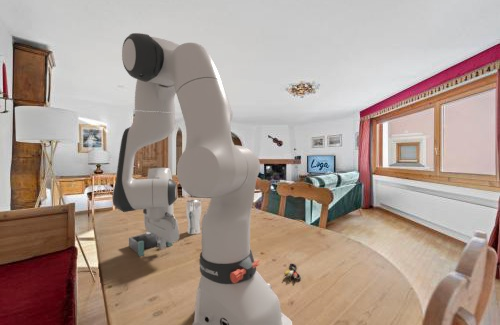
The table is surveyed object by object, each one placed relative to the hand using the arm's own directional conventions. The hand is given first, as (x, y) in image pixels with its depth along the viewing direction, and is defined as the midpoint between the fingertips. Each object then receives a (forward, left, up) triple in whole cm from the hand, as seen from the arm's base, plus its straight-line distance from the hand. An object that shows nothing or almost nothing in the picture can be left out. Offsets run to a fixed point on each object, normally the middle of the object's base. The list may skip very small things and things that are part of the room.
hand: (161, 247), depth 79 cm
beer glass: (+10, -20, -2) cm, 23 cm away
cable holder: (+11, 0, -2) cm, 11 cm away
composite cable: (-43, -21, -3) cm, 48 cm away
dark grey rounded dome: (+11, 0, -2) cm, 12 cm away
